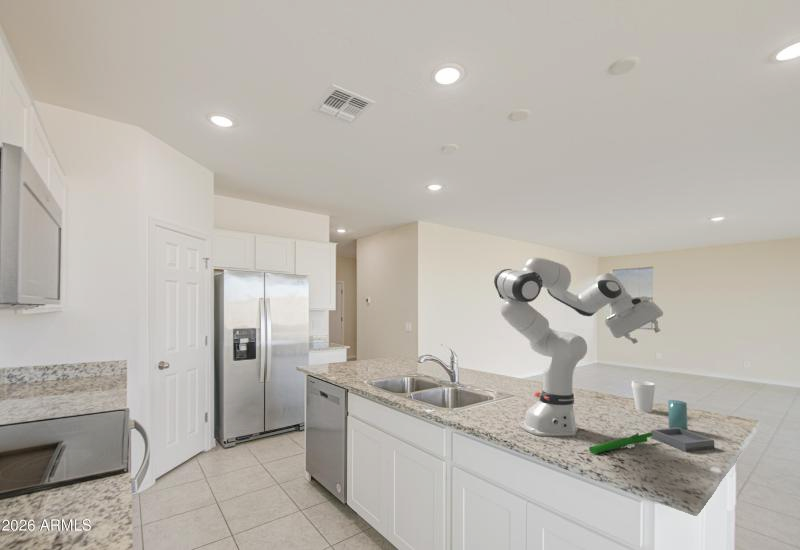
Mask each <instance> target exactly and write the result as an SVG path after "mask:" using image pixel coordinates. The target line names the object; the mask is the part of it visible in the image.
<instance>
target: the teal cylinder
mask: <svg viewBox="0 0 800 550" xmlns="http://www.w3.org/2000/svg"><path fill="white" fill-rule="evenodd" d="M667 401H668V402H667V403H668V404H667V406H668V428H677V427H679V428H681V429H684V430H687V431H689V430H688V406H687V405H688V404H687V402H685V401H683V400H682V401H681V400H675V399H668V400H667Z"/></svg>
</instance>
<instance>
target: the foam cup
mask: <svg viewBox="0 0 800 550" xmlns="http://www.w3.org/2000/svg"><path fill="white" fill-rule="evenodd" d="M631 389H632V394H633V401H634V406H635V407H634V408H635V410H636V409H637V410H639V411H638V412H640V411H644V412H643V413H646V412H650V413H652V411H653V406H654V405H653V404H654V397H655V390H656V384H655V383H654V382H651V381H646V380H631ZM637 410H636V411H637Z"/></svg>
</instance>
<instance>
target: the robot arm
mask: <svg viewBox="0 0 800 550" xmlns="http://www.w3.org/2000/svg"><path fill="white" fill-rule="evenodd" d="M493 282H494V287H495V289H496V292H497V293H498V296H499V298H500V299H502V300H504V301H503V302H502V304H501V306H500V314H501V316H502V317H503V318H504V320H505V321H507V322H508V324H509V325H510V326H511V327H512V328H513V329H514V330H516V331H517V332H519V334H521V335H523V336H524V337H525V338H526V339H527V340H528V341H529V343H530V348H531V349H532V350H533V351H534V352H535V353H537V354H539V355H542V356H545V357H549V358H551V363H550V366H549V367H547V368H545V370H544V371H543V373H542V377H543V378H542V379H543V381H542V386H543V387H542V391H541V392H539V391H535V392H534V396H535V397H537V398H539V400H538V401H537V402H535V403H534V404H533V405H532V406H531V407H529V408H528V409H527V410H526V412H525V417H524V418H525V419H524V420H522V421H519V422H518V423H519V426H520V428H521V429H523V430H524V431H526V432H528V433H530V434H532V435H535V436H538V437H539V436H541V437H542V436H543V437H545V436H546V437H547V436H549V437H551V436H552V437H557V436H558V437H559V436H561V437H564V436H569V437H570V436H571V437H572V436H577V432H578V431H579V429H578V426H577V422H576V417H575V409H574V403H575V396H574V393H573V382H574V381H573V379H574V371H575V369H576V367H577V364H578V363H579V362H580V361H581V360H582V359H584V358H585V357H586V355H587V353H588V345H587V341H586V340H585V338H583V337H582V336H580V335H578V334H575V333H573V332H568V331H567V332H566V331H559V330H556V329H555V330H554V329H552V328H551V327H550V322H549V320H548V319H547V317H545V316H544V315H543V314H542V313H540V312H539V311H538V310H537V309H535V308H534V307H533V306H532V305H530V304H529V303H530V302H531V303H532V302H534V300H536V299H537V298H538V297H539V295H540V293H541V291H542V288H544V289H546V291H547V293H548V294H549V296H550V297H551V298H552V299H555V300H557V302H560V303H562V304H563V305H565V306H566V307H569V308H571V309H573V310H574V312H577V313H578V314H579V315H581V316H583V317H592V316H594V315H595V314H596V313H597V312H598V311H600V310H602V308H604V307H606V306H607V305H608V304H609V307H610V308H611V310H612V311H613V312H614V313H613V314H612V315H610V316H608V317H607V318H606V320H605V325H606V327H607V328H609V330H610V332H611V334H612V336H613V337H614V338H616V339H619V338H622V337H624V338H626V339H628V340H629V341H631V342H632V344H637V343H638V342H639V341H638V340H637V338H635V337H634V338H633V337H631V335H630V333H631V332H632V333H633V332H634V331H636V330H638V329H640V328H642V327H644V326H645V325H648V324H649V323H652V324H654V325H653V326H654V327H653V328H652V329H653V331H654V333H655V334H656V333H659V332H661V329H660V327H659V321H658V320H657V319H659V318H661V317H663V315H664V311H663V310H662V309H661V308H660V307H659V306H658V305H657V304H656V303H655V302H654V301H650V299H649V297H648V296H645V295H644V296H637V297H632V296H631V295H630V294H629V293H628V292H627V291H626V288H625V286H624V285H623V283H622V282H621V281H620V280H619V279H618V278H617V277H616V276H615V275H614V274H613V273H612V272H607V273H602V274H599V275H598V276H596V278H594V282H593V284H592V285H591V286H589V287H588V288H587V289H585V290H583V291H582V292H581V293H577V294H573V293H572V292H570V291H568V289H569V287H570V285H571V282H572V274H571V271H570V269H569V268H568V267H567V266H565V265H564V264H563V263H560V262H557V261H554V260H550V259H547V258H543V257H536V256H535V257H531V258H529V259H528V260H527V261H526V262H525V263H524V266H523V268H522V269H521V270H515V269H511V268H504V269H501V270H500V271H498V272H497V273H496V274H495V276H494V281H493Z"/></svg>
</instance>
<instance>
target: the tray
mask: <svg viewBox="0 0 800 550" xmlns="http://www.w3.org/2000/svg"><path fill="white" fill-rule="evenodd" d="M650 432H652V436H651V439H653V440H656V441H658V442H660V443H663V444H664V445H668V446H670V447H673V448H675V449H678V450H680V451H683V452H685V453H686V452H687V453H688V452H697V451H698V452H699V451H706V450H714V449H715V439H713V438H709V437H706V436H704V435H700V434H698V433H695V432H692V431H689V430H688V431H687V430H684V429H681V428H679V427H677V428H669V427H667V428H657V429H651V431H650Z"/></svg>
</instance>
